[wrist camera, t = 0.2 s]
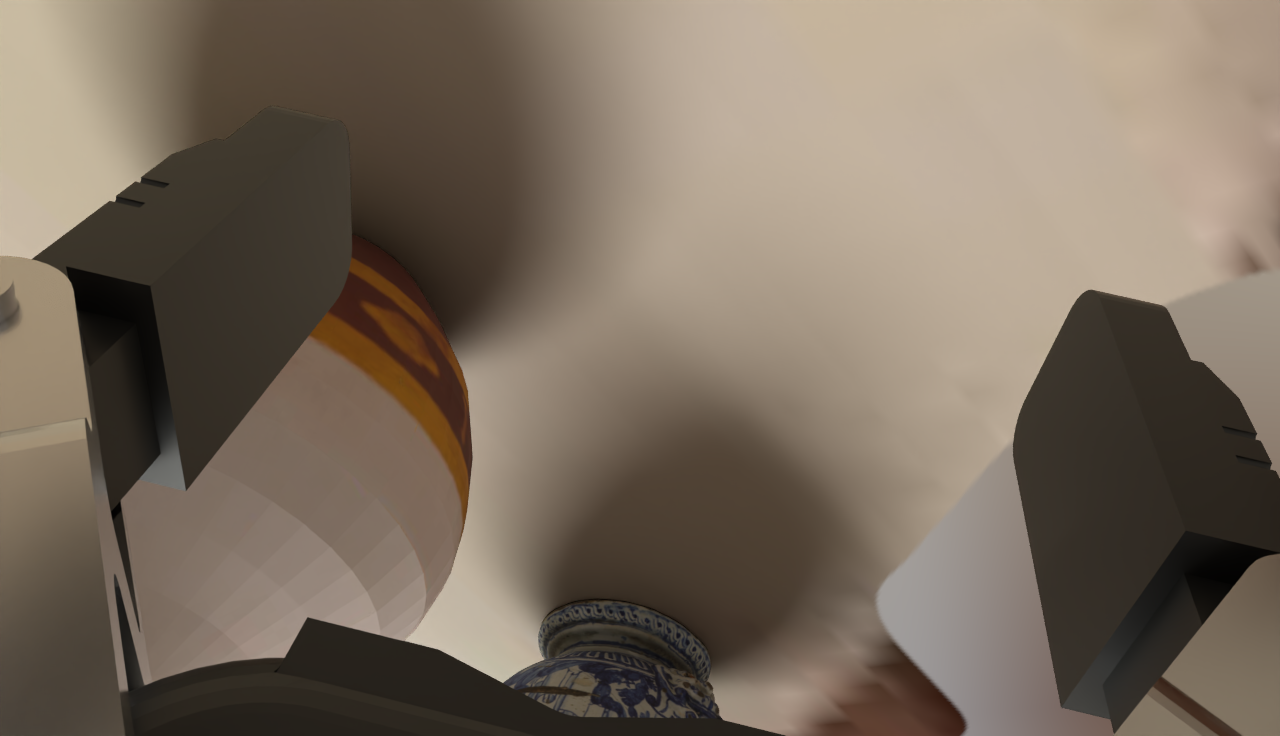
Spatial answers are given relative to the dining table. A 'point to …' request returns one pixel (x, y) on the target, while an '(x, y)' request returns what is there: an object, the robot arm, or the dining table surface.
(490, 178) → the dining table surface
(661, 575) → the dining table surface
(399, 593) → the jug
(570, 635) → the decorative vase
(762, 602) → the dining table surface
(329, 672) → the robot arm
